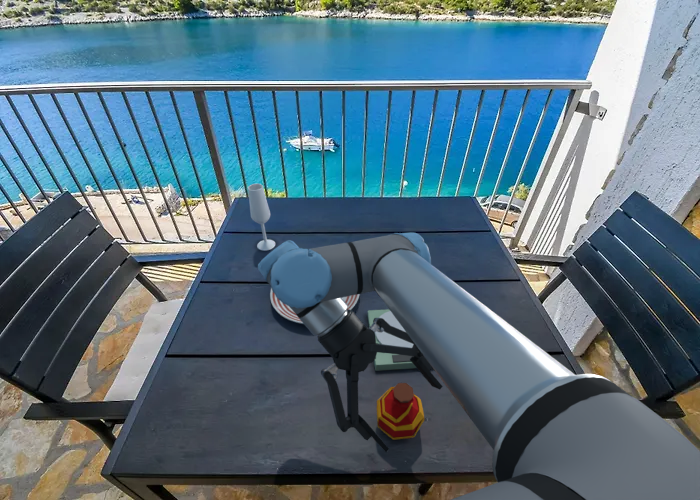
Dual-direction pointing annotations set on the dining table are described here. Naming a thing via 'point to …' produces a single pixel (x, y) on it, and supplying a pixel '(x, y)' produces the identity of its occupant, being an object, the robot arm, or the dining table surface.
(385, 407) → the potion bottle
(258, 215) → the champagne flute
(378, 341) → the kitchen scale
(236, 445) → the dining table surface
